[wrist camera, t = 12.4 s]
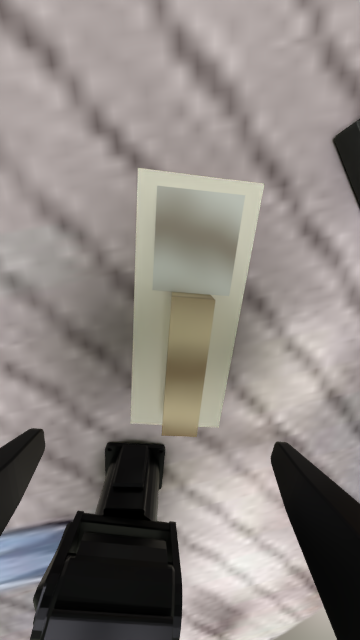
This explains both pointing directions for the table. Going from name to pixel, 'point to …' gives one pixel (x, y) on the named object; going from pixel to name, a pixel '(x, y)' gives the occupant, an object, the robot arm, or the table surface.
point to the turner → (192, 289)
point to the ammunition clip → (351, 153)
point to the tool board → (157, 304)
